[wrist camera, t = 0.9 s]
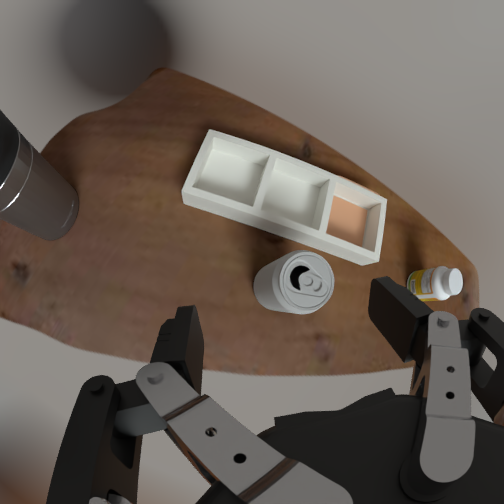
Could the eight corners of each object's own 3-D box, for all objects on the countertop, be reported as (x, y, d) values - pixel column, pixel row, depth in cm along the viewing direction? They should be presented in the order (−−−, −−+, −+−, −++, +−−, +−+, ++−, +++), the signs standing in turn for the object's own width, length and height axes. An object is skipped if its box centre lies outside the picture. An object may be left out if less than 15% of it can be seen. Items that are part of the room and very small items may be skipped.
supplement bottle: (429, 285, 42) (468, 280, 33) (416, 307, 41) (456, 306, 31) (415, 264, 42) (454, 256, 33) (401, 286, 41) (442, 281, 31)
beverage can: (265, 255, 38) (293, 235, 26) (305, 276, 38) (347, 266, 26) (244, 297, 36) (263, 296, 25) (285, 318, 37) (322, 325, 25)
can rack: (183, 203, 37) (181, 191, 32) (209, 143, 39) (210, 126, 35) (362, 265, 40) (378, 261, 36) (371, 206, 42) (387, 197, 38)
